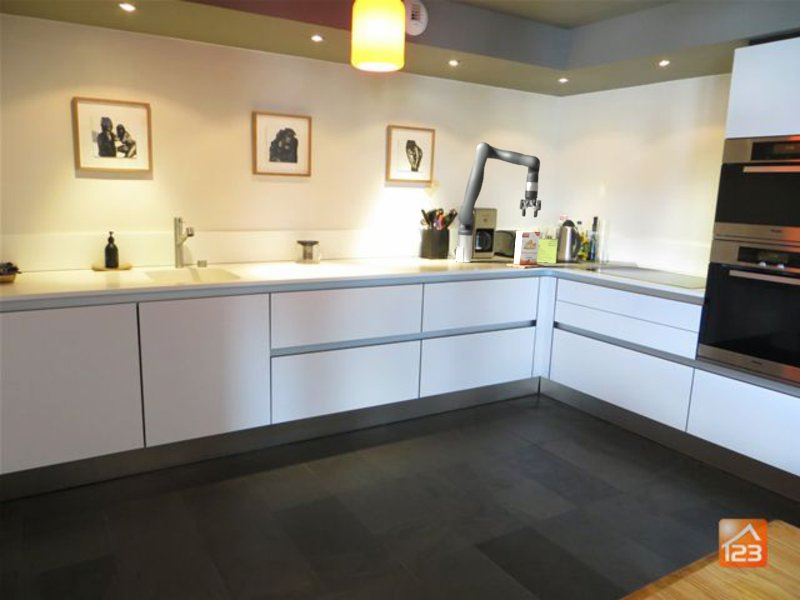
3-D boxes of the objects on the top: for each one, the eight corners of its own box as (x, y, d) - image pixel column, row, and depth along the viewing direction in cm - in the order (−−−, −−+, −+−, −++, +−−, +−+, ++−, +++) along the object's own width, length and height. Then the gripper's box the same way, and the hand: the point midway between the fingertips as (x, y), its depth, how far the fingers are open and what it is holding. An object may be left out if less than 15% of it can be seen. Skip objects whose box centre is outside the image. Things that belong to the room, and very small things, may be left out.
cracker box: (519, 265, 355) (522, 231, 352) (513, 264, 361) (516, 230, 357) (537, 264, 362) (540, 231, 358) (531, 263, 367) (533, 230, 363)
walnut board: (524, 268, 350) (524, 266, 350) (506, 265, 360) (506, 263, 360) (544, 266, 363) (544, 265, 363) (526, 264, 373) (526, 262, 373)
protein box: (555, 263, 386) (558, 240, 383) (532, 261, 391) (534, 238, 388) (556, 261, 396) (558, 239, 393) (533, 260, 400) (535, 237, 398)
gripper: (518, 189, 356) (516, 216, 359) (537, 190, 345) (535, 217, 348) (526, 190, 361) (523, 216, 364) (545, 190, 350) (542, 217, 353)
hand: (529, 216), depth 356 cm, fingers open, 8 cm apart
